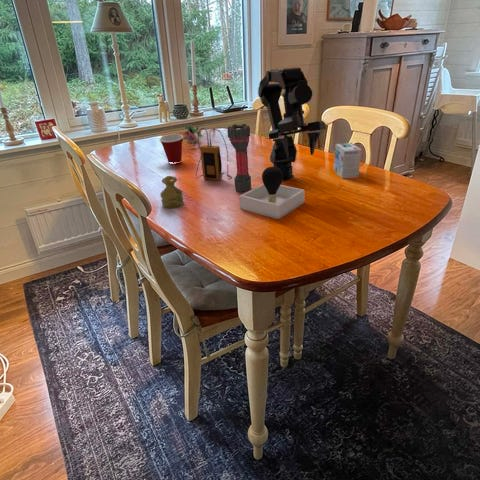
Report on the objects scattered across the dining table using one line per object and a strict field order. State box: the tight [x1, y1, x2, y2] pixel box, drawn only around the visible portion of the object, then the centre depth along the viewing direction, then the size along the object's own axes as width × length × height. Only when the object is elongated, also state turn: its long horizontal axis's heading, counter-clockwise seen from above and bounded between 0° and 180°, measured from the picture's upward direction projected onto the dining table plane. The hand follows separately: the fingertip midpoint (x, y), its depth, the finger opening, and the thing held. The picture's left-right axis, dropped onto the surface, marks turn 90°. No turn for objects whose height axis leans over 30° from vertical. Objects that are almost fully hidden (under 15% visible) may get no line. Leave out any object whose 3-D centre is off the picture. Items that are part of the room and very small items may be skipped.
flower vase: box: [182, 124, 203, 146], centre depth 198 cm, size 12×12×35 cm
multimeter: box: [195, 127, 233, 181], centre depth 143 cm, size 15×10×20 cm
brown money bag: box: [159, 175, 184, 209], centre depth 122 cm, size 7×7×10 cm
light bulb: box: [261, 166, 284, 203], centre depth 115 cm, size 7×7×12 cm
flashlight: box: [226, 123, 252, 193], centre depth 127 cm, size 8×8×23 cm
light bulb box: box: [333, 142, 362, 179], centre depth 139 cm, size 11×7×11 cm, turn 5°
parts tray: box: [239, 183, 306, 220], centre depth 117 cm, size 15×15×4 cm
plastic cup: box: [158, 133, 184, 163], centre depth 165 cm, size 11×11×12 cm
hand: (299, 156), depth 123 cm, fingers open, 9 cm apart
